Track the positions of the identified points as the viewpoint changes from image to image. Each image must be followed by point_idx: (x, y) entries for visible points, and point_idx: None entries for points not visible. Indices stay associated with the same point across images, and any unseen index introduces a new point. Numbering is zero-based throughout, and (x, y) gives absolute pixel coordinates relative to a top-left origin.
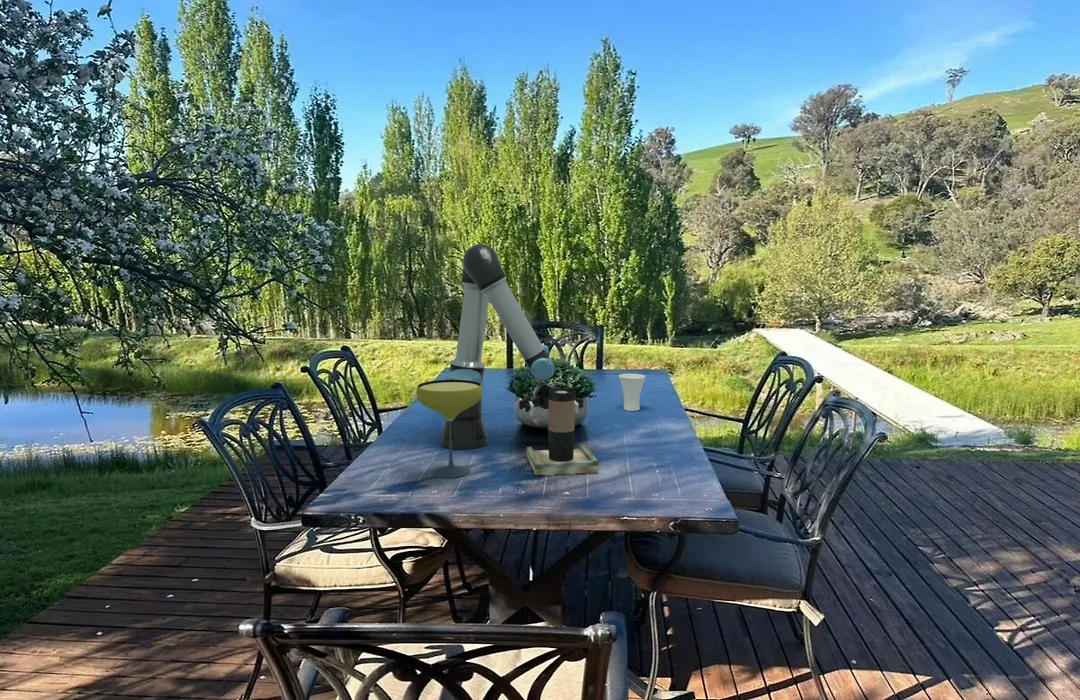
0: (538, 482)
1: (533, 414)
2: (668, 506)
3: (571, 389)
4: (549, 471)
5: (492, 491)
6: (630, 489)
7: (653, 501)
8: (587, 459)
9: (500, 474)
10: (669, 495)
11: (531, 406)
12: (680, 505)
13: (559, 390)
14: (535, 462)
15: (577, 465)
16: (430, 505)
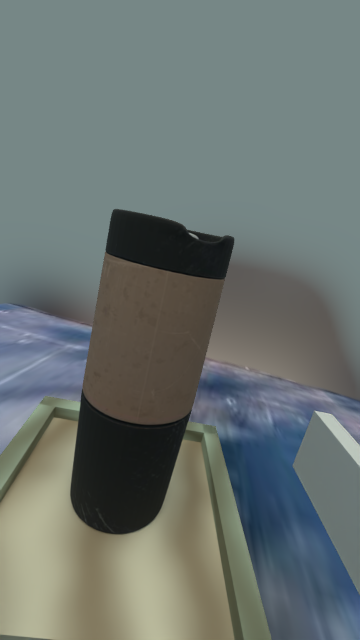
0: (201, 421)
1: (296, 464)
2: (43, 325)
3: (118, 209)
4: None
5: (280, 415)
6: (46, 358)
7: (49, 334)
8: (34, 453)
9: (298, 485)
10: (8, 334)
11: (329, 417)
12: (26, 322)
13: (174, 234)
14: (215, 438)
15: None
16: (347, 406)
